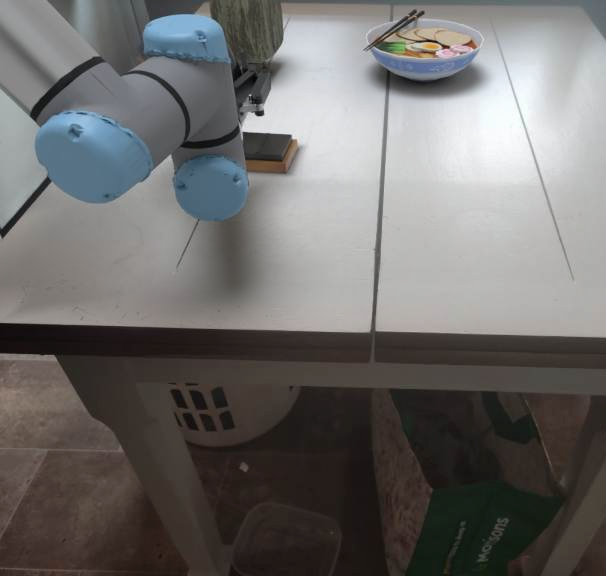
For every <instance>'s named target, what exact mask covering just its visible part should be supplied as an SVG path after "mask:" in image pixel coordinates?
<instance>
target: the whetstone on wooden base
mask: <svg viewBox="0 0 606 576" xmlns="http://www.w3.org/2000/svg"><path fill="white" fill-rule="evenodd" d="M242 134H243V146H244V156H245V162H246V171H247V172H259V173H260V172H261V173H274V174H275V173H276V174H287V173H288V171H289V169H290V167H291V164H292V162H293V160H294V158H295V156H296V154H297V152H298V150H299V145H298V143H299V142H298V139H296V138H293V134H291V133H290V134H289V133H273V132H272V133H271V132H254V131H252V132H250V131H242Z"/></svg>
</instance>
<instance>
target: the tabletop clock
mask: <svg viewBox="0 0 606 576" xmlns="http://www.w3.org/2000/svg"><path fill="white" fill-rule="evenodd" d="M208 3H209V13H210V18H211V19H213V20H215V21H216V22H217V23H218V24H219V25H220V26H221V27H222V29H223V32H224V37H225V40H226V41H227V43H228V45H229V46H230V48H231V50H232V52H233V54H234V56H235V58H236V60H237V62H238V64H239V67H240V68H242V64H241V56H240V52H245V55H246V61H247V63H249V64H261V65H262V67H261V71H262V70H269V72H271V68H270V66H268V65H266V61H267V60H270V59H271V58H273V56H274V55H275V54H276V53H277V52H278V51H279V49H280V48H281V47H282V45H283V42H284V34H285V33H284V19H283V8H282V0H208Z"/></svg>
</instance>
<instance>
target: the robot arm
mask: <svg viewBox="0 0 606 576" xmlns="http://www.w3.org/2000/svg"><path fill="white" fill-rule="evenodd" d="M142 40H143V46H144V47H143V50H142V51H143V54H144V55H145V57H146V60H144V61H143V62H141V63H140V64H138V65H136V66H135V67H134V68H132V69H130V70H128V71H127V72H125V73H124V74H121V75H119V73H118V72H117V71H116V70H115V69H114V68H113V67H112V66H111V64H109V63H108V62H107V61H106V60H105V59H104V58H103V57H102V56H101V55H100V54H99V53H98V52H97V51H96V50H95V49H94V48H93V47H92V46H91V45H90V44H89V43H88V42H87V41H86V40H85V39H84V38H83V37H82V36H81V34H79V32H78V31H77V30H76V29H75V28H74V27H73V26H72V25H71V24H70V23H69V22H68V20H66V19H65V17H64V16H62V15H61V14H60V12H59V11H58V10H57V9H56V8H55V7H54V6H53V5H52V4H51V3H50V2H49V1H48V0H0V90H1V91H2V93H3V94H5V95H6V96H7V97H8V98H9V99H10V100H11V101H12V102H13V103H15V105H17V106H18V107H19V108H20V109H21V110H22V111H23V113H25V114H26V116H28V117H30V119H31V120H32V121H33V122H35V124H36V125H37V126H38V127H39V129H38V131H37V132H36V136H35V138H34V150H35V151H34V152H35V156H36V158H37V159H36V160H37V162H38V163H39V164H40V165H41V166H42V167H44V168H45V170H46V172H47V175H46V176H47V177H48V179H49V180H50V181H51V183H53V184H54V185H55V186H56V187H57V188H58V189H59V190H61V191H62V192H63V193H65V194H66V195H68V196H70V197H71V198H73V199H75V200H78V201H81V202H84V203H87V204H95V205H100V204H107V203H111V202H113V201H115V200H117V199H119V198H120V197H122V196H123V195H125V194H126V193H127V192H128V191H130V190H131V189H132V188H134V187H135V186H136V185H138V184H139V183H143V182H144V181H146V180H147V179H148V178H149V177H150V176H151V174H152V172H153V171H154V170H155V169H156V168H157V167H158V166H160V165H161V164H162V163H163V162H164V161H165V160H166V159H167V158H168V157H170V156H171V161H172V165H173V171H174V172H173V176H172V185H173V188H174V195H175V199H176V202H177V204H178V205H179V207H180V208H181V209H182V210H183V211H184V212H185V213H186V214H188V215H189V216H190V217H192V218H194V219H197V220H200V221H203V222H221V221H226V220H228V219H230V218H232V217H234V216H236V215H237V214H238V213H239V212H240V211H241V210H242V209H243V207H244V206H245V204H246V203H247V199H248V195H249V186H250V180H249V174H248V171H246V162H245V156H244V146H243V134H242V132H243V127H242V125H243V124H242V123H241V117H243V115H244V112H246V113H251V114H254V115H255V116H256V117H257V118H258V117H265V107H264V106H265V104H266V102H267V99H268V97H269V95H270V93H271V90H272V82H271V73H270V72H271V71H270V72H269V70H262V69H261V71H260V72H257V68H256V65H255V63H249V64H248V62H247V61H246V55H245V52H240V56H241V64H242V66H241V72H242V76H241V77H239V78H238V79H237V80H236V81H235V82H234V83H233V78H232V71H231V59H230V58H229V55H228V50H227V46H226V41H225V37H224V32H223V29H222V27H221V26H220V25H219V24H218V23H217V22H216V21H215V20H213V19H211V17H208V16H205V15H200V14H191V13H189V14H187V13H186V14H185V13H184V14H183V13H182V14H172V15H171V14H170V15H167V16H162V17H159V18H156V19H153V20H151V21H150V22H148V23H147V24H146V25H145V27H144V30H143V33H142ZM246 98H249V99H247V100H246V102H244V103H242V102H243V101H244V100H245V99H246Z"/></svg>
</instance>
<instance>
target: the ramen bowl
mask: <svg viewBox="0 0 606 576" xmlns="http://www.w3.org/2000/svg"><path fill="white" fill-rule="evenodd" d="M425 13H426V11H425V10H420V11H419V12H418V10H417V9H413V10H411V11H410V12H408V13H407V15H405V16H404V17H402V18H401V19H400V20H399V19H398V20H393V21H389V22H384V23H382V24H380V25H377V26H374V27H372V28H370V30H369V31H368V32H367V33H366V34H365V35H364V37H365V40H366V44H367V46H366V47H365V48H364V49H363V50H362V51H365V52H368V51H370V52H371V54H372V55H373V57H374V59H375V60H376V61H377V62H378V64H380V65H381V66H382V67H384V68H385V69H387V70H388V71H390V72H391V73H392V74H394V75H395V76H396V75H397V76H400V77H403V78H406V79H408V80H410V81H414V82H420V83H427V82H429V83H430V82H434V81H437V80H439V79H444V78H447V77H451V76H453V75H454V74H457V73H458V72H460V71H462V70H464V69H465V68H467V66H469V65H470V64H471V63H472V61H473V60H474V59H475V57H477V55H478V53H479V52H480V49H481V48H482V46H483V43H484V41H485V38H484V36H483V35H482V33H481V32H480V31H479V30H476V29H474V28H473V27H471V26H469V25H466V24H462V23H458V22H456V21H455V22H454V21H450V20H443V19H434V18H433V19H432V18H421V17H423V16H424V15H425Z"/></svg>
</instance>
